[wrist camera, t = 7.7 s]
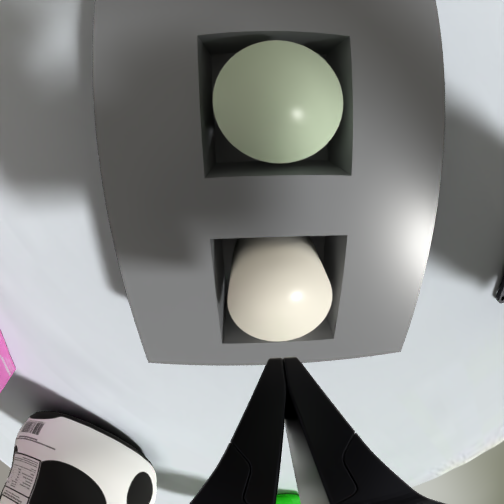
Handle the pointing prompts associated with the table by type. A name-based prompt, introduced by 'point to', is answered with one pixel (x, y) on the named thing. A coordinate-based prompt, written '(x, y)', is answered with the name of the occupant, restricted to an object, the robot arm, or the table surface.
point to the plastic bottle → (288, 499)
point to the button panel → (268, 170)
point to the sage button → (277, 101)
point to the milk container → (75, 465)
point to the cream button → (278, 287)
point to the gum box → (5, 364)
